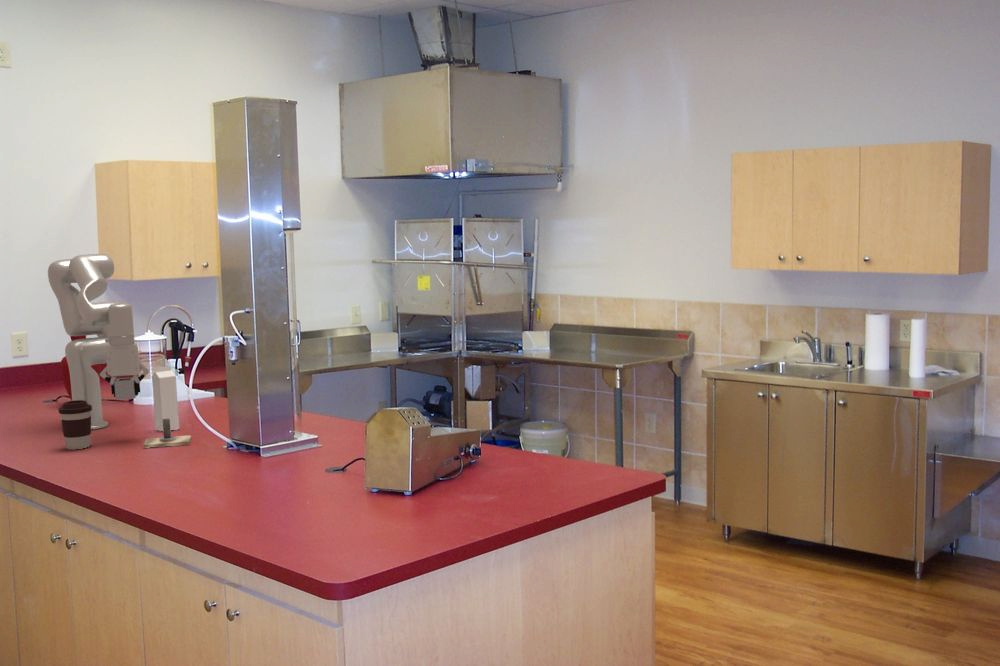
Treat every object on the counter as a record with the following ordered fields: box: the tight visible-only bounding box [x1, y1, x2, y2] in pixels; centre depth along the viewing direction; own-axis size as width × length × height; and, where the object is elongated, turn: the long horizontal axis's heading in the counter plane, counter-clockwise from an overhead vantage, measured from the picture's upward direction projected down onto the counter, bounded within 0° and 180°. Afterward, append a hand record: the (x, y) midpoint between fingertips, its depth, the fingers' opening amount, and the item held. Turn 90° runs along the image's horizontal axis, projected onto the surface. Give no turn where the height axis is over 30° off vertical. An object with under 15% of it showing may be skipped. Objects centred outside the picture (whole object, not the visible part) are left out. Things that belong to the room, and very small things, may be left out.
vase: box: [60, 335, 102, 401], centre depth 410 cm, size 15×15×30 cm
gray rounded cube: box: [114, 377, 138, 401], centre depth 340 cm, size 6×6×6 cm
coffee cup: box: [58, 400, 92, 451], centre depth 333 cm, size 10×10×15 cm
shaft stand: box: [143, 419, 192, 449], centre depth 335 cm, size 14×10×8 cm
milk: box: [151, 365, 180, 432], centre depth 357 cm, size 6×6×22 cm
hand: (126, 395), depth 340 cm, fingers closed on gray rounded cube, 6 cm apart
